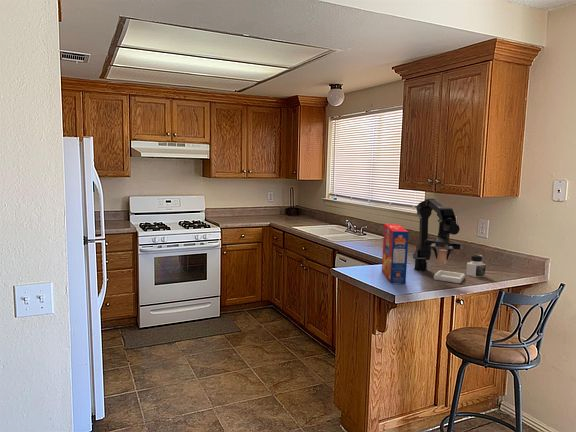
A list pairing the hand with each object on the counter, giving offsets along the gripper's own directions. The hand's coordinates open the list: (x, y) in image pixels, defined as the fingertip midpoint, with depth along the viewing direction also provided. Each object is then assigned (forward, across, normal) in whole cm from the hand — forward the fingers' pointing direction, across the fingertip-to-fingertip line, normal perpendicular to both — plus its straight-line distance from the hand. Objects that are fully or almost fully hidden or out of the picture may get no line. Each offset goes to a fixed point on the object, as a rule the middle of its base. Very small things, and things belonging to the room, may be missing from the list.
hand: (442, 259), depth 239 cm
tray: (+12, +3, +7) cm, 14 cm away
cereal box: (+12, -24, -9) cm, 28 cm away
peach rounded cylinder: (+2, 0, 0) cm, 2 cm away
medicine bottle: (+12, +14, +24) cm, 30 cm away
